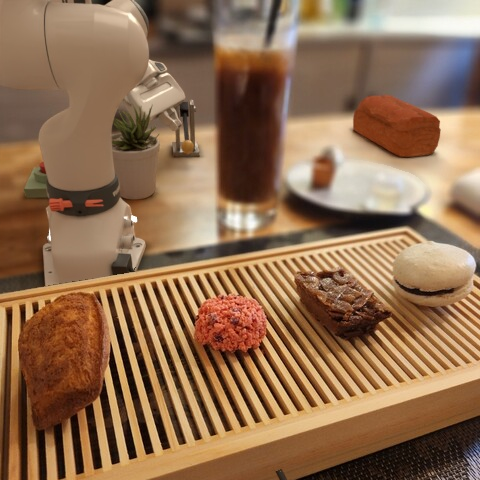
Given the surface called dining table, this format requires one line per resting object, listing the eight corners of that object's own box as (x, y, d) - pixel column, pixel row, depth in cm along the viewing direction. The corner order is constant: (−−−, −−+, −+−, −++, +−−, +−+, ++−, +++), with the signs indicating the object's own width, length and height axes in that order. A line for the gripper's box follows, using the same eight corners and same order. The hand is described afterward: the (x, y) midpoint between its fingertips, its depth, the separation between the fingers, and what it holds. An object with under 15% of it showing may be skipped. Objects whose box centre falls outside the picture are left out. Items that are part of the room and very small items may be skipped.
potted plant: (107, 208, 101) (92, 112, 88) (107, 182, 111) (94, 92, 98) (165, 205, 103) (159, 110, 90) (160, 179, 113) (154, 91, 100)
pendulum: (199, 156, 126) (198, 106, 118) (173, 156, 125) (170, 106, 117) (197, 145, 132) (196, 97, 124) (172, 146, 131) (169, 97, 123)
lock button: (58, 174, 105) (56, 167, 103) (39, 175, 104) (37, 167, 103) (60, 167, 108) (59, 160, 106) (42, 168, 107) (40, 160, 106)
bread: (386, 125, 153) (394, 90, 146) (440, 153, 135) (453, 115, 128) (346, 128, 148) (352, 93, 142) (396, 159, 130) (407, 120, 123)
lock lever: (194, 156, 117) (194, 146, 114) (181, 156, 117) (181, 147, 114) (189, 110, 123) (189, 100, 121) (177, 110, 123) (177, 100, 120)
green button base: (72, 196, 104) (69, 180, 102) (26, 198, 103) (21, 181, 100) (78, 175, 113) (75, 159, 111) (36, 176, 112) (31, 159, 109)
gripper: (122, 79, 100) (165, 132, 104) (166, 62, 115) (203, 109, 119) (107, 98, 104) (150, 149, 108) (152, 79, 119) (188, 124, 123)
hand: (178, 127), depth 114 cm, fingers closed
